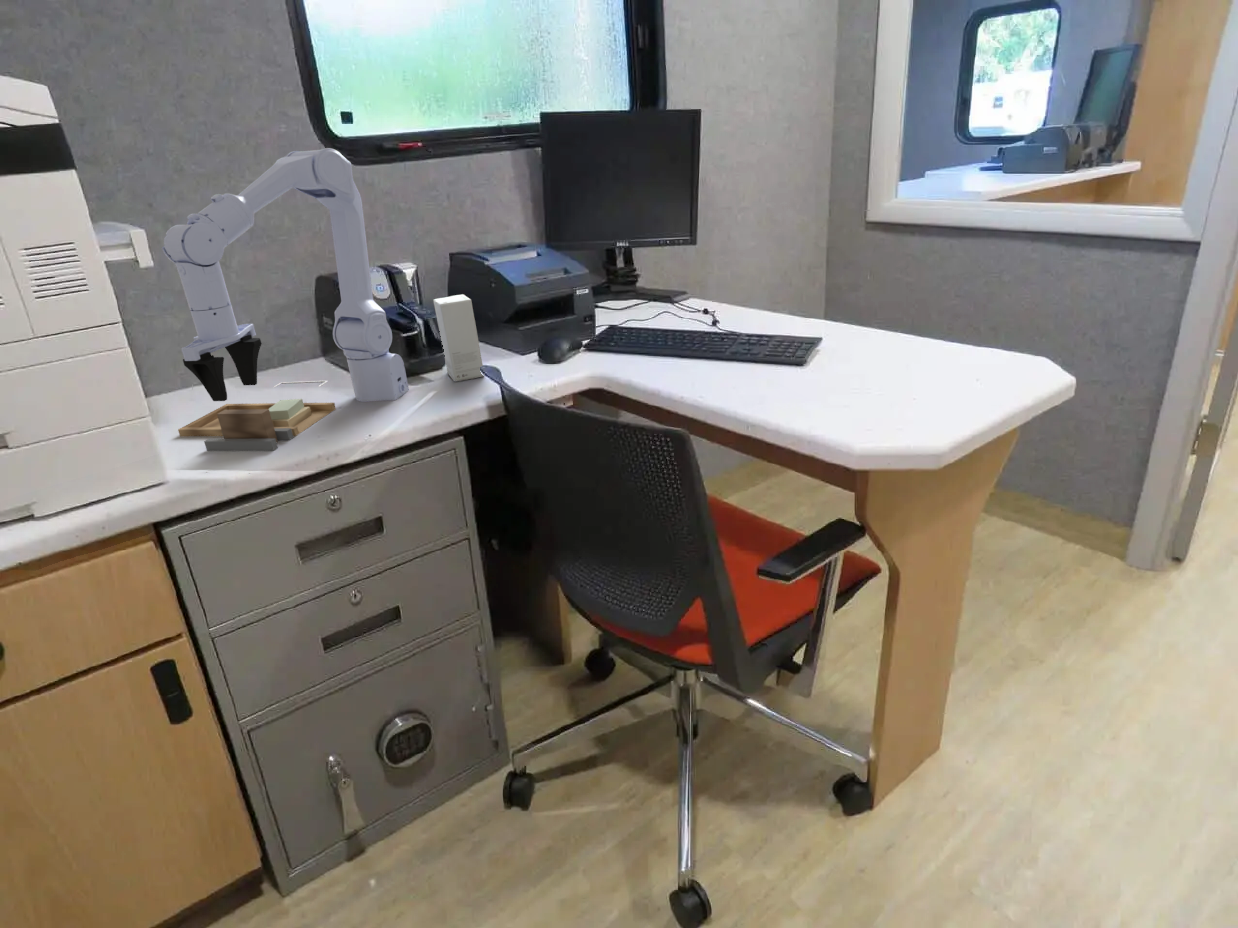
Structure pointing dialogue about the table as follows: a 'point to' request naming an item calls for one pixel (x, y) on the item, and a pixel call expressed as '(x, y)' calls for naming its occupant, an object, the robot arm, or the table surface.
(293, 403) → the offcut
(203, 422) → the tray
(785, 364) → the table surface
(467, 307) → the skincare box
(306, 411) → the offcut
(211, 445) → the holder
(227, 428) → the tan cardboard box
